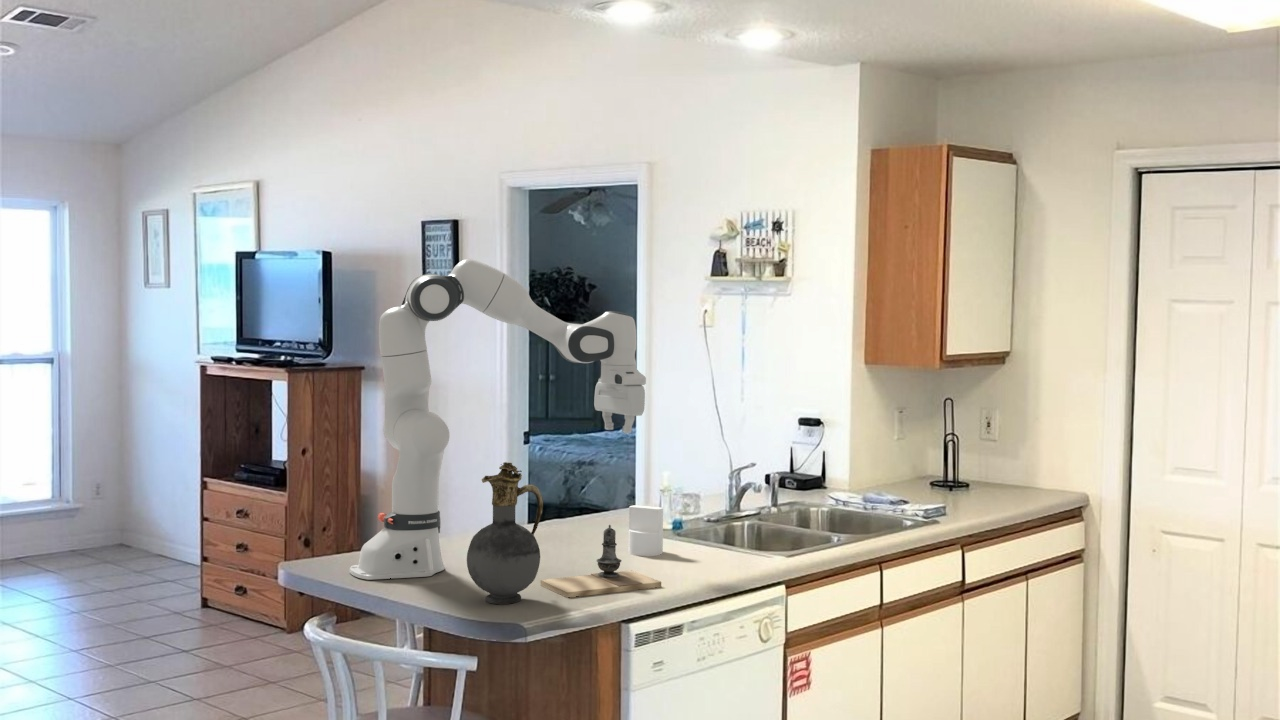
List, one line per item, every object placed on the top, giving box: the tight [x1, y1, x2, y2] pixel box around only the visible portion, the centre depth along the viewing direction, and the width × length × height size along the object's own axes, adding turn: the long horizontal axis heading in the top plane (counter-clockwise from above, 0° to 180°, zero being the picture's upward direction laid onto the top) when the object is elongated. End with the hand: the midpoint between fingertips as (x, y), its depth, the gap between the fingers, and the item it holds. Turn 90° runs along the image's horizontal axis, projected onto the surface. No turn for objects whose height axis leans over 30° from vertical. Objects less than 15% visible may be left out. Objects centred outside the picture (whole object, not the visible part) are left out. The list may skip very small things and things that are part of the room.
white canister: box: [627, 504, 664, 557], centre depth 325 cm, size 9×9×12 cm
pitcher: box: [466, 461, 544, 605], centre depth 271 cm, size 11×19×30 cm, turn 138°
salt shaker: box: [596, 524, 622, 578], centre depth 290 cm, size 6×6×12 cm
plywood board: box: [540, 570, 662, 599], centre depth 285 cm, size 24×14×1 cm, turn 120°
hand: (618, 431), depth 311 cm, fingers open, 8 cm apart
